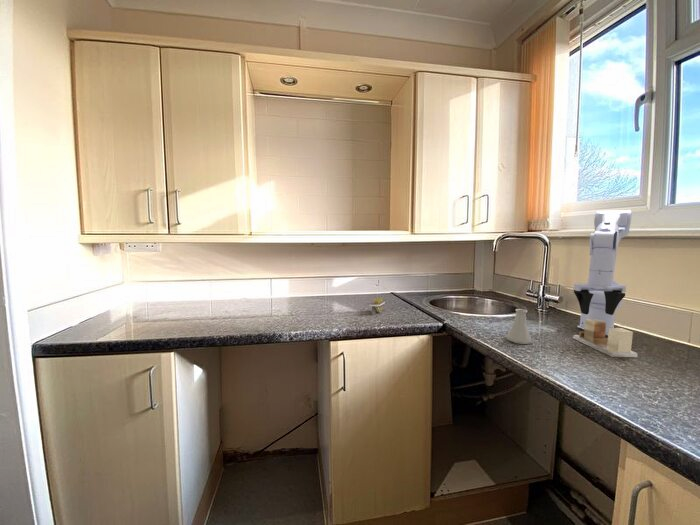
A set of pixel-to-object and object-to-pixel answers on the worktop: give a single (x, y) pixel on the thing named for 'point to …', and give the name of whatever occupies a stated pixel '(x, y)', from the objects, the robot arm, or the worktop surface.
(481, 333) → the worktop surface
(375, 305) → the green irregular piece
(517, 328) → the flask
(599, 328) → the block
